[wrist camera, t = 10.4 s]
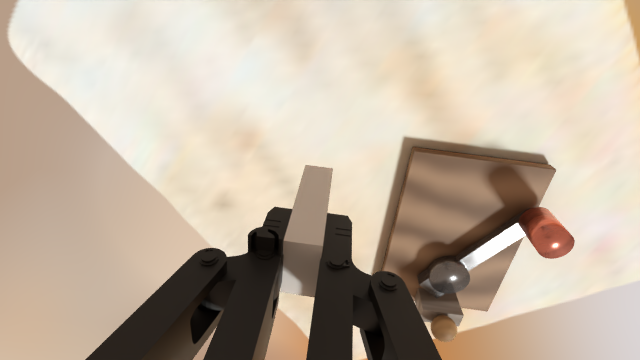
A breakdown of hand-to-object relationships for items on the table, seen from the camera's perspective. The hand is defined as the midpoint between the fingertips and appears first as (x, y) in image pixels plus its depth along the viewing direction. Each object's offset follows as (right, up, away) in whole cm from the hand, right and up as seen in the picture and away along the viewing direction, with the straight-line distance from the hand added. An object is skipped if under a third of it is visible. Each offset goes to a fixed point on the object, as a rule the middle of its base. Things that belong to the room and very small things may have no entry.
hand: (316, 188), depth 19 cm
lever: (+23, -9, +30) cm, 39 cm away
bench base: (+20, -8, +32) cm, 39 cm away
